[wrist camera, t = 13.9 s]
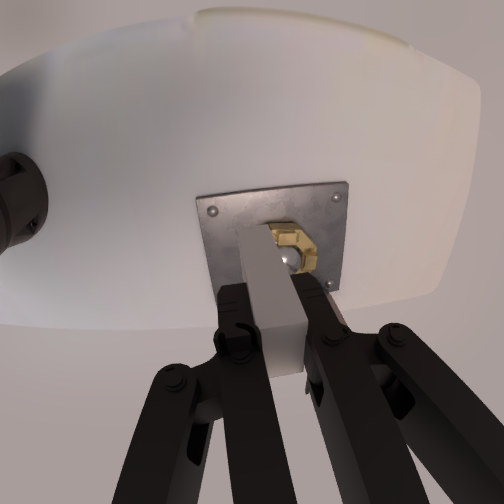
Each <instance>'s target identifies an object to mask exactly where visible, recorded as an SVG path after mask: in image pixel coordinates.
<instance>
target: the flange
mask: <svg viewBox="0 0 504 504" xmlns="http://www.w3.org/2000/svg"><path fill="white" fill-rule="evenodd" d="M348 189H349V183H347V182H333V183H319V184H307V185H295V186H285V187H275V188H265V189H256V190H248V191H240V192H232V193H224V194H217V195H210V196H203V197H197V198H196V202H197V208H198V214H199V219H200V225H201V230H202V236H203V241H204V246H205V251H206V257H207V262H208V267H209V271H210V276H211V281H212V286H213V291H214V295H215V300H216V304H217V293H218V291H219V289H220V288H221V286H223V285H230V284H237V283H244V280H243V275H242V267H241V259H240V250H239V242H238V234H237V228H242V227H249V226H257V225H265V224H269V223H297V224H298V225H299V226H300V227H301V228H302V229H303V231H304V232H305V233H306V234H307V235H308V236H309V237H310V238H311V239H312V241H313V242H314V244H315V245H316V247H317V250H316V254H317V256H318V257H317V262H316V267H315V270H312V272H310V274H311V275H313V276H314V277H315V278H316V279H317V280H318V282H319V283H320V284H321V285H322V286H323V287H324V288H325V289H326V290H327V291H328V292H332V291H337V290H339V284H340V277H341V269H342V261H343V252H344V242H345V232H346V220H347V206H348ZM276 245H277V247H278V249H279V252H280V254H281V256H282V259H283V261H284V263H285V266H286V268H287V270H288V273H289V275H292V274H295V273H296V272H297V271H298V270H299V268H300V266H301V258H300V255H299V254H298V251H299V247H298V246H297V245H296V244H295V245H280V246H278V244H277V243H276Z"/></svg>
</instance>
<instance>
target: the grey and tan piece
mask: <svg viewBox="0 0 504 504" xmlns="http://www.w3.org/2000/svg"><path fill="white" fill-rule="evenodd" d="M268 226H269V229H270V231H271V233H272V235H273V238H274V240H275V242H276V243H277V244H278V246H280V245H295V244H296V245H297V246H298V247H299V251H298V254H299V255H300V258H301V266H300V268H299V270H298V271H297V272H296V273H295V274H298V273H304V272H309V273H310V272H312V270H315V267H316V262H317V257H318V256H317V254H316V250H317V247H316V245H315V244H314V242H313V241H312V239H311V238H310V237H309V236H308V235H307V234H306V233H305V232H304V231H303V229H302V228H301V227H300V226H299V225H298V224H297V223H269V224H268ZM319 284H320V283H319ZM320 286H321V289H322V290H323V291H324V293H325V296H326V297H327V299H328V301H329V303H330V305H331V307H332V309H333V311H334V312H335V314H336V316H337V318H338V320H339V322H340V323H342V324H344V325H346V326H347V324H346V322H345V320H344V318H343V316H342V314H341V313H340V311H339V309H338V307H337V305H336V303H335V301H334V300H333V298H332V296H331V294H330V293H329V292H328V291H327V290H326V289H325V288H324V287H323V286H322V285H321V284H320ZM347 327H348V326H347Z"/></svg>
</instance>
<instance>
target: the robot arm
mask: <svg viewBox="0 0 504 504" xmlns="http://www.w3.org/2000/svg"><path fill="white" fill-rule="evenodd" d="M47 211H48V195H47V189H46V185H45V182H44V179H43V176H42V174H41V172H40V170H39V169H38V167H37V166H36V164H35V163H34V162H33V161H32V160H31V159H30V158H29V157H27V156H26V155H24V154H21V153H16V152H13V153H9V154H6V155H4V156H1V157H0V255H1V254H2V253H3V252H4V251H5V250H6V249H7V248H9V247H12V246H14V245H17V244H20V243H23V242H25V241H28V240H29V239H31V238H32V237H33V236H34V235H35V234H36V233H37V232H38V231H39V230H40V229H41V228H42V226H43V224H44V222H45V219H46V216H47ZM237 234H238V242H239V250H240V259H241V267H242V275H243V280H244V283H237V284H230V285H223V286H221V288H220V289H219V291H218V293H217V309H218V326H219V328H218V329H217V331H216V332H215V334H214V339H213V341H214V344H215V348H216V351H217V353H216V354H215V355H214V357H213V358H211V359H210V360H209V361H207V362H205V363H203V364H201V365H198V366H195V367H193V368H190V367H189V366H187V365H184V364H181V363H179V364H170V365H167V366H165V367H163V368H162V369H161V370H160V371H158V373H157V374H156V376H155V377H154V380H153V382H152V385H151V388H150V390H149V393H148V396H147V398H146V401H145V404H144V407H143V409H142V412H141V415H140V417H139V420H138V423H137V426H136V429H135V432H134V435H133V437H132V440H131V443H130V446H129V449H128V452H127V456H126V458H125V461H124V465H123V468H122V471H121V474H120V477H119V481H118V483H117V487H116V490H115V493H114V497H113V500H112V504H197V502H198V497H199V492H200V488H201V482H202V478H203V472H204V468H205V463H206V458H207V453H208V448H209V444H210V439H211V434H212V429H213V424H214V421H215V420H218V419H220V418H223V420H224V430H225V440H226V448H227V457H228V465H229V473H230V481H231V489H232V496H233V502H234V504H297V501H296V496H295V492H294V487H293V483H292V479H291V475H290V470H289V466H288V462H287V457H286V453H285V449H284V445H283V440H282V435H281V432H280V427H279V422H278V418H277V413H276V409H275V404H274V400H273V395H272V391H271V386H270V382H269V378H273V377H279V376H284V375H289V374H294V373H299V372H303V370H304V365H305V368H306V371H307V382H306V388H305V393H306V394H308V393H309V392H310V395H311V399H312V402H313V405H314V408H315V412H316V414H317V418H318V421H319V424H320V428H321V431H322V435H323V437H324V441H325V444H326V448H327V451H328V454H329V458H330V461H331V464H332V468H333V471H334V475H335V478H336V481H337V485H338V488H339V492H340V495H341V498H342V502H343V504H430V503H429V500H428V498H427V495H426V492H425V490H424V487H423V484H422V481H421V479H420V476H419V474H418V471H417V470H416V466H415V464H414V461H413V459H412V456H411V454H410V452H409V449H408V447H407V445H408V446H409V447H410V449H411V450H412V451H413V452H414V454H415V455H416V456H417V458H418V459H419V460H420V461H421V463H422V464H423V465H424V466H425V468H426V469H427V470H428V471H429V473H430V474H431V475H432V477H433V478H434V479H435V480H436V482H437V483H438V484H439V486H440V487H441V488H442V489H443V491H444V492H445V493H446V494H447V496H448V497H449V498H450V499H451V501H452V502H453V503H454V504H504V426H503V425H502V423H501V422H500V421H499V420H498V419H497V418H496V417H495V415H494V414H493V413H492V412H491V411H490V410H489V409H488V408H487V407H486V405H485V404H484V403H483V402H482V401H481V400H480V399H479V398H478V397H477V396H476V394H474V392H473V391H472V390H471V389H470V388H469V387H468V386H467V385H466V384H465V383H464V382H463V381H462V380H461V379H460V378H459V377H458V376H457V375H456V374H455V373H454V372H453V370H452V369H451V368H450V367H449V366H448V365H447V364H446V363H445V362H444V361H443V360H442V359H441V358H440V357H439V356H438V355H437V354H436V353H435V352H434V351H432V349H431V348H429V347H428V346H427V345H426V344H425V343H424V342H423V341H422V340H421V339H420V338H419V337H418V336H417V335H416V334H415V333H414V332H413V331H412V330H411V329H409V328H408V327H407V326H405V325H403V324H399V323H389V324H386V325H384V326H383V327H382V328H381V329H380V330H379V333H378V334H364V333H356V332H352V331H351V329H350V328H349V327H347V326H346V325H344V324H342V323H340V322H339V320H338V318H337V316H336V314H335V312H334V311H333V309H332V307H331V305H330V303H329V301H328V299H327V297H326V296H325V293H324V291H323V290H322V289H321V286H320V284H319V282H318V280H317V279H316V278H315V277H314V276H313V275H311V274H310V273H309V272H304V273H298V274H292V275H289V273H288V270H287V268H286V266H285V263H284V261H283V259H282V256H281V254H280V252H279V249H278V247H277V245H276V242H275V240H274V238H273V235H272V233H271V231H270V229H269V226H268V224H265V225H257V226H249V227H242V228H237Z"/></svg>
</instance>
